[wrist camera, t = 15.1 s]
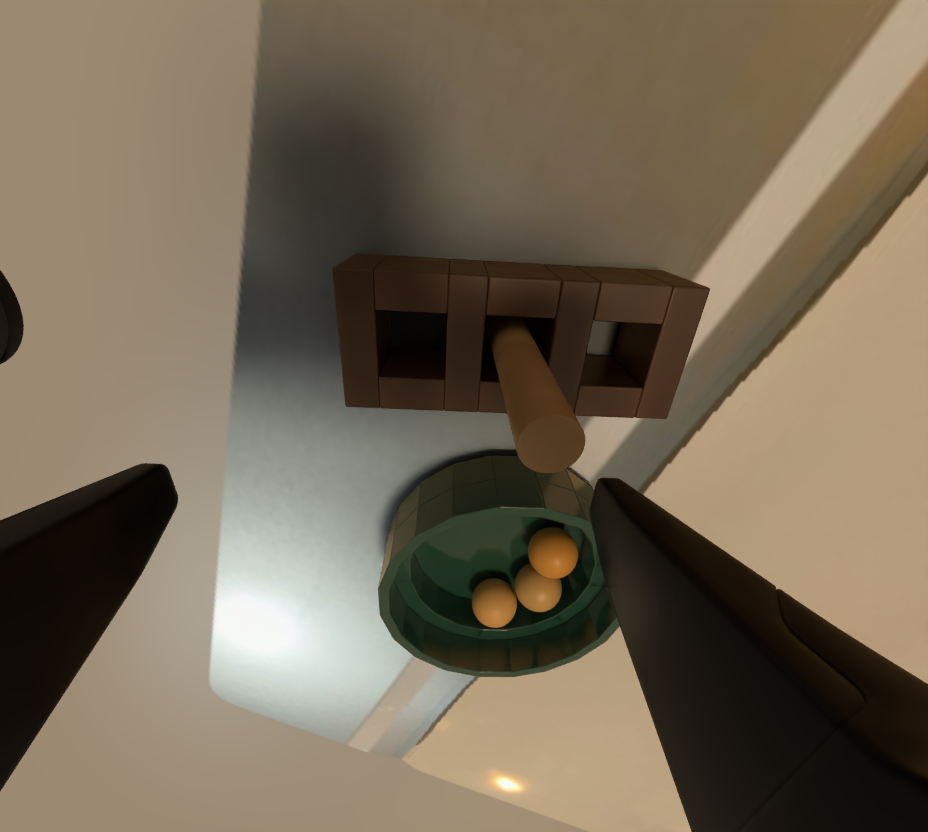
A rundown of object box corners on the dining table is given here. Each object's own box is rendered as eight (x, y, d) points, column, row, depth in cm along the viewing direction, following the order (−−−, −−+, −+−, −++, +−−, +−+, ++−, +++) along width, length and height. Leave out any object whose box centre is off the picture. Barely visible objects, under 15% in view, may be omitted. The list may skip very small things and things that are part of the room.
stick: (499, 349, 21) (539, 484, 11) (479, 321, 20) (502, 440, 10) (529, 328, 20) (598, 450, 11) (509, 299, 20) (563, 402, 10)
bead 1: (474, 639, 26) (455, 593, 27) (500, 619, 29) (483, 577, 30) (507, 632, 25) (486, 583, 25) (532, 611, 27) (513, 566, 28)
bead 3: (548, 593, 24) (578, 601, 26) (531, 548, 26) (560, 558, 28) (513, 617, 25) (544, 623, 27) (500, 572, 27) (529, 580, 29)
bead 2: (518, 553, 24) (544, 597, 24) (564, 531, 23) (591, 575, 23) (518, 532, 27) (541, 570, 27) (559, 511, 26) (583, 550, 26)
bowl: (393, 606, 30) (383, 676, 26) (387, 445, 23) (371, 503, 19) (582, 609, 31) (603, 678, 27) (628, 453, 24) (667, 511, 20)
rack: (363, 372, 21) (345, 407, 18) (355, 253, 18) (331, 267, 15) (633, 383, 22) (667, 419, 18) (664, 270, 19) (711, 288, 16)
